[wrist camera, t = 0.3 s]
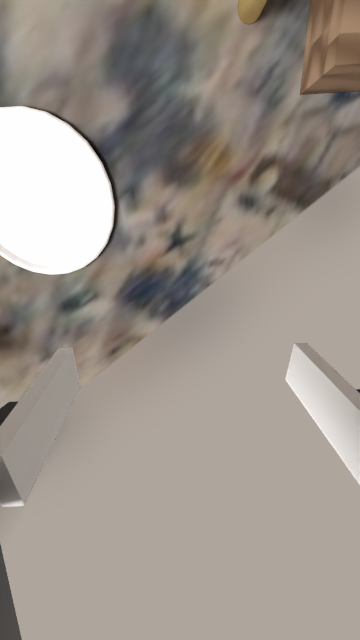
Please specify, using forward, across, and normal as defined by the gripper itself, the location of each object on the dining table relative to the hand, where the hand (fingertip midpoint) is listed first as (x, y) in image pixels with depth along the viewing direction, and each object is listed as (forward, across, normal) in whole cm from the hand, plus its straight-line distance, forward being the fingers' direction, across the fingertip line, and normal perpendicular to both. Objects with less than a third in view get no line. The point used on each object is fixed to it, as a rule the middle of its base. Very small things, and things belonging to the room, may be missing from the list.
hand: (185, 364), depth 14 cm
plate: (+28, -19, +9) cm, 35 cm away
